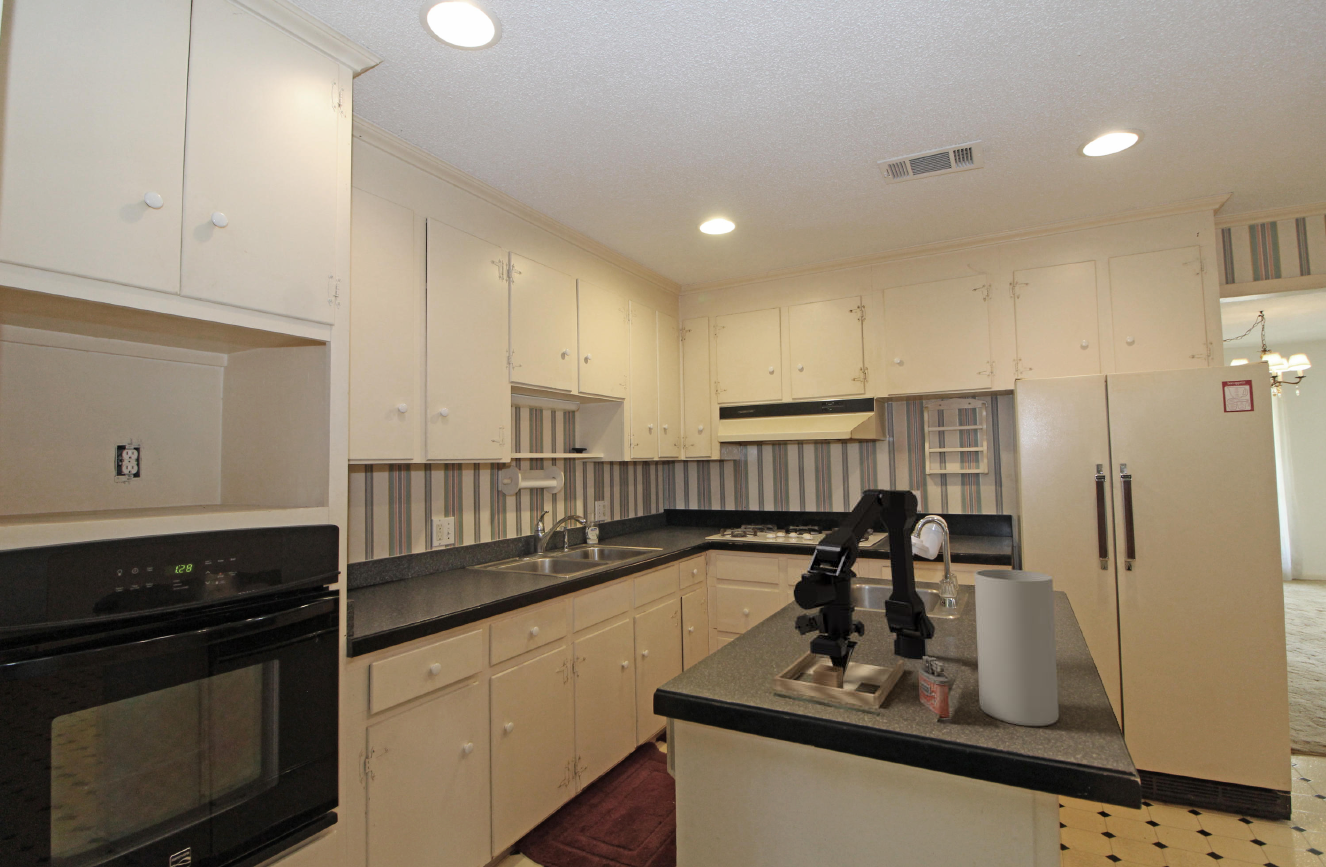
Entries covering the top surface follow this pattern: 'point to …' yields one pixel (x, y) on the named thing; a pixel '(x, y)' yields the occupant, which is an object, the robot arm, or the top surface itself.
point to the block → (828, 676)
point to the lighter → (934, 688)
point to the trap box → (850, 682)
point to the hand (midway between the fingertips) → (839, 679)
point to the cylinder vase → (1016, 646)
